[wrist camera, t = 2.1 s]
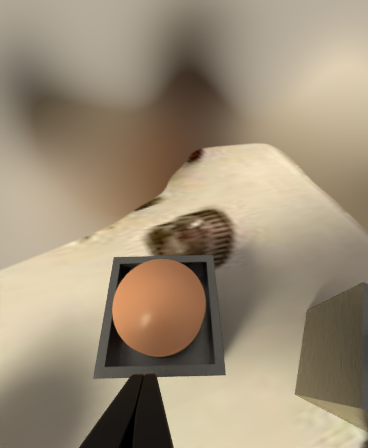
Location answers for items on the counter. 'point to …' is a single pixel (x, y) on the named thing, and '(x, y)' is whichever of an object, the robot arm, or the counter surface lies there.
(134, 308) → the orange button
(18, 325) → the counter surface
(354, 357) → the teal button housing
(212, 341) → the orange button housing
